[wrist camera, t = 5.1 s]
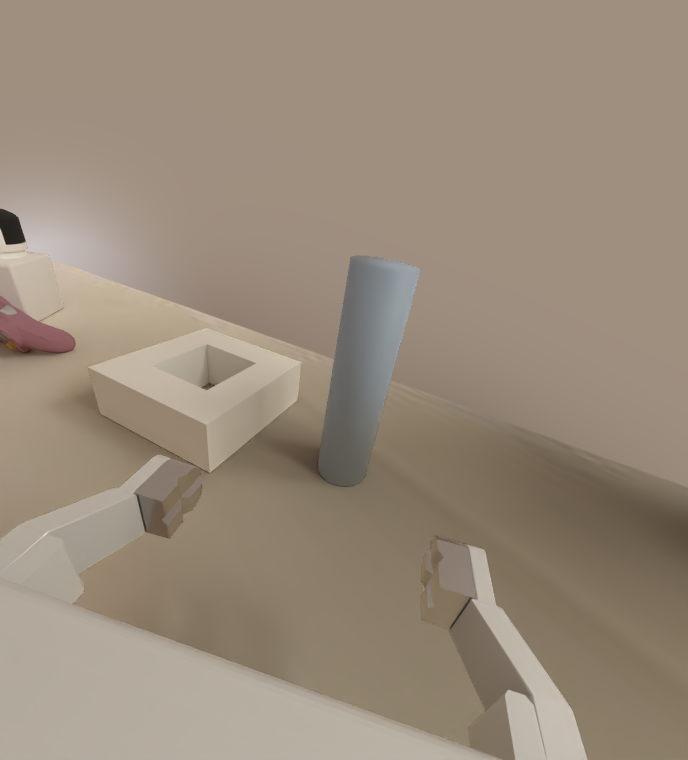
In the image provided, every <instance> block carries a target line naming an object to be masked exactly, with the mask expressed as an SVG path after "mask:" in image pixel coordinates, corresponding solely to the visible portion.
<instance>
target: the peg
mask: <svg viewBox="0 0 688 760" xmlns="http://www.w3.org/2000/svg"><path fill="white" fill-rule="evenodd" d="M419 273H420V270H419V269H418V268H416V267H414V266H412V265H409V264H406V263H402V262H398V261H394V260H389V259H384V258H378V257H370V256H351V259H350V264H349V271H348V277H347V283H346V290H345V296H344V302H343V308H342V315H341V321H340V327H339V333H338V340H337V346H336V352H335V358H334V365H333V371H332V377H331V383H330V390H329V396H328V402H327V409H326V415H325V421H324V427H323V434H322V440H321V446H320V452H319V459H318V471H319V473H320V475H321V476H322V477H323V478H324V479H325V480H326V481H328V482H329V483H331V484H334V485H337V486H343V487H348V486H353V485H356V484H358V483H360V482H361V481H362V480H363V479H364V477H365V475H366V471H367V467H368V463H369V460H370V456H371V452H372V449H373V445H374V441H375V437H376V434H377V430H378V426H379V422H380V419H381V415H382V411H383V408H384V404H385V400H386V396H387V393H388V389H389V385H390V381H391V378H392V374H393V370H394V367H395V363H396V359H397V355H398V352H399V347H400V344H401V340H402V337H403V333H404V329H405V325H406V321H407V318H408V314H409V311H410V307H411V303H412V299H413V295H414V292H415V288H416V284H417V281H418V276H419Z"/></svg>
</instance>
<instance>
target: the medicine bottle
mask: <svg viewBox="0 0 688 760" xmlns="http://www.w3.org/2000/svg"><path fill="white" fill-rule="evenodd" d="M27 248H28V247H27V244H26V241H25V238H24V234H23V232H22V229H21V225H20V222H19V219H18V217H17V216H16V215H14V214H13V213H11V212H8V211H6V210H4V209H0V296H1V297H3V298H5V299H6V300H7V301H8V302H10V304H11V305H12V306H14V307H16V308H18V309H19V310H21V311H22V312H24V313H25V314H27V315H28V316H30V317H32V318H33V319H35V320H37V321H41V320H43V319H45V318H46V317H48V316H50V315H52V314H54V313H55V312H57V311H59V310H61V309H62V308H63V307H64V306H63V302H62V299H61V295H60V292H59V288H58V285H57V281H56V278H55V274H54V271H53V267H52V264H51V261H50V257H49V256H48V255H47V254H43V253H34V252H26V251H25V250H26V249H27Z"/></svg>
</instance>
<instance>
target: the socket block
mask: <svg viewBox="0 0 688 760" xmlns="http://www.w3.org/2000/svg"><path fill="white" fill-rule="evenodd" d="M300 370H301V362H299V361H297V360H294V359H291V358H288V357H286V356H283V355H280V354H277V353H275V352H272V351H269V350H267V349H264V348H261V347H258V346H256V345H253V344H250V343H247V342H245V341H242V340H239V339H237V338H234V337H231V336H228V335H226V334H223V333H220V332H217V331H215V330H212V329H209V328H204V329H201V330H198V331H195V332H192V333H189V334H186V335H183V336H180V337H177V338H174V339H171V340H168V341H165V342H162V343H159V344H156V345H153V346H150V347H147V348H144V349H141V350H138V351H135V352H132V353H129V354H126V355H123V356H120V357H116V358H113V359H110V360H107V361H104V362H101V363H98V364H95V365H92V366H89V367H88V371H89V375H90V378H91V382H92V386H93V389H94V393H95V396H96V400H97V404H98V407H99V411H100V414H102V415H103V416H105V417H107V418H109V419H111V420H113V421H114V422H116V423H118V424H120V425H122V426H124V427H126V428H127V429H129V430H131V431H133V432H135V433H137V434H138V435H140V436H142V437H144V438H146V439H148V440H150V441H151V442H153V443H155V444H157V445H159V446H161V447H162V448H164V449H166V450H168V451H170V452H172V453H174V454H175V455H177V456H179V457H181V458H183V459H185V460H187V461H188V462H190V463H192V464H194V465H196V466H198V467H200V468H201V469H203V470H205V471H207V472H209V473H211V472H212V471H213V470H214V469H215V468H217V467H218V466H219V465H220V464H221V463H223V462H224V461H225V460H226V459H227V458H229V457H230V456H231V455H232V454H233V453H235V452H236V451H237V450H238V449H239V448H241V447H242V446H243V445H244V444H245V443H247V442H248V441H249V440H250V439H251V438H253V437H254V436H255V435H256V434H257V433H259V432H260V431H261V430H262V429H263V428H265V427H266V426H267V425H268V424H269V423H271V422H272V421H273V420H274V419H276V418H277V417H278V416H279V415H280V414H282V413H283V412H284V411H285V410H286V409H288V408H289V407H290V406H291V405H292V404H294V403H295V402H296V401H297V399H298V390H299V380H300ZM208 383H210V384H213V385H215V386H214V387H212V388H210V389H208V390H205V389H202V388H201V387H203V386H205V385H207V384H208Z"/></svg>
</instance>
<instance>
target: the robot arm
mask: <svg viewBox="0 0 688 760" xmlns="http://www.w3.org/2000/svg"><path fill="white" fill-rule="evenodd" d="M200 475H201V472H200V467H197V466H194V465H191V464H188V463H185V462H181V461H178V460H175V459H172V458H169V457H166V456H162V455H159V454H158V455H156V456H154V457H152V458H151V459H150V460H149V461H148V462H147V463H145V464H144V465H143V466H142V467H141V468H140V469H139V470H138V471H137V472H135V473H134V474H133V475H132V476H131V477H130V478H129V479H128V480H127V481H125V482H124V483H123V484H122V485H121V486H120V487H119V488H118V489H117V488H111V489H108V490H106V491H103V492H101V493H98V494H95V495H93V496H90V497H88V498H85V499H82V500H80V501H77V502H75V503H72V504H70V505H67V506H64V507H62V508H59V509H57V510H54V511H51V512H49V513H46V514H44V515H41V516H38V517H36V518H33V519H31V520H28V521H26V522H23V523H20V524H19V525H18V526H17V527H15V528H14V529H13V530H11V531H10V532H9V533H7V534H6V535H5V536H4V537H2V538H1V539H0V760H588V759H587V756H586V753H585V749H584V746H583V743H582V740H581V736H580V733H579V730H578V727H577V723H576V720H575V717H574V714H573V711H572V709H571V707H570V706H569V704H568V703H567V701H566V700H565V699H564V697H563V696H562V694H561V693H560V691H559V690H558V688H557V687H556V686H555V684H554V683H553V681H552V680H551V678H550V677H549V675H548V674H547V673H546V671H545V670H544V668H543V667H542V665H541V664H540V662H539V661H538V660H537V658H536V657H535V655H534V654H533V652H532V651H531V650H530V648H529V647H528V645H527V644H526V642H525V641H524V639H523V638H522V637H521V635H520V634H519V632H518V631H517V629H516V628H515V626H514V625H513V624H512V622H511V621H510V619H509V618H508V616H507V615H506V613H505V612H504V611H503V609H502V608H501V607H498V606H496V602H495V597H494V592H493V587H492V582H491V577H490V572H489V567H488V562H487V557H486V553H485V551H484V550H483V549H481V548H477V547H474V546H470V545H466V544H465V543H461V542H457V541H454V540H450V539H447V538H443V537H439V536H436V535H435V536H434V537H433V538H432V540H431V542H430V544H431V549H428V550H426V552H425V555H424V557H423V562H422V568H421V582H422V584H423V586H424V588H425V590H424V592H423V593H422V595H421V620H423V621H425V622H428V623H431V624H434V625H437V626H440V627H442V628H445V629H448V630H450V631H449V632H450V635H451V637H452V639H453V641H454V643H455V645H456V648H457V650H458V652H459V654H460V656H461V659H462V661H463V663H464V665H465V667H466V669H467V672H468V674H469V676H470V678H471V680H472V683H473V685H474V687H475V689H476V691H477V693H478V696H479V698H480V700H481V702H482V704H483V707H484V709H485V712H484V713H483V714H482V715H481V716H479V717H478V718H477V719H476V720H475V721H474V722H473V723H472V724H471V725H470V726H469V738H470V747H467V746H464V745H462V744H459V743H456V742H453V741H450V740H448V739H445V738H442V737H439V736H437V735H434V734H431V733H428V732H426V731H423V730H420V729H417V728H415V727H412V726H409V725H406V724H403V723H401V722H398V721H395V720H392V719H390V718H387V717H384V716H381V715H379V714H376V713H373V712H370V711H368V710H365V709H362V708H359V707H356V706H354V705H351V704H348V703H345V702H343V701H340V700H337V699H334V698H332V697H329V696H326V695H323V694H321V693H318V692H315V691H312V690H309V689H307V688H304V687H301V686H298V685H296V684H293V683H290V682H287V681H285V680H282V679H279V678H276V677H274V676H271V675H268V674H265V673H262V672H260V671H257V670H254V669H251V668H249V667H246V666H243V665H240V664H238V663H235V662H232V661H229V660H226V659H224V658H221V657H218V656H215V655H213V654H210V653H207V652H204V651H202V650H199V649H196V648H193V647H191V646H188V645H185V644H182V643H179V642H177V641H174V640H171V639H168V638H166V637H163V636H160V635H157V634H155V633H152V632H149V631H146V630H143V629H141V628H138V627H135V626H132V625H130V624H127V623H124V622H121V621H119V620H116V619H113V618H110V617H107V616H105V615H102V614H99V613H96V612H94V611H91V610H88V609H85V608H83V607H80V606H77V605H74V604H73V603H74V602H75V601H76V600H77V599H78V598H79V597H80V595H81V594H82V593H83V592H84V588H85V585H84V583H83V581H82V579H81V577H80V575H79V573H81V572H83V571H84V570H86V569H88V568H89V567H91V566H93V565H94V564H96V563H98V562H99V561H101V560H102V559H104V558H106V557H107V556H109V555H111V554H112V553H114V552H116V551H117V550H119V549H121V548H122V547H124V546H126V545H127V544H129V543H131V542H132V541H134V540H136V539H137V538H139V537H141V536H142V535H144V534H145V533H146V532H148V533H151V534H155V535H158V536H162V537H165V538H169V539H170V538H171V536H172V535H173V534H174V533H175V531H176V530H177V529H178V527H179V526H180V525H181V524H182V522H183V514H185V513H187V512H189V511H191V510H192V509H193V508H194V507H195V505H196V504H197V502H198V500H199V498H200V496H201V492H202V483H201V482H200V480H199V479H198V477H199V476H200Z"/></svg>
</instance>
